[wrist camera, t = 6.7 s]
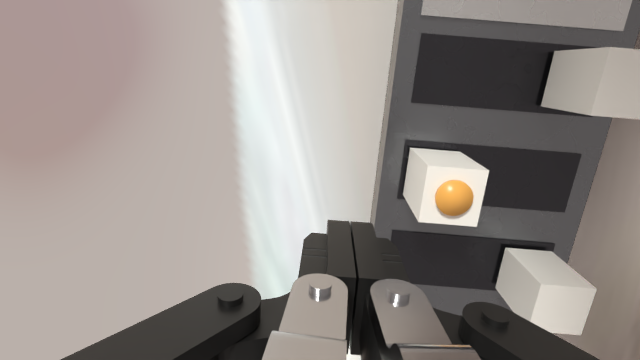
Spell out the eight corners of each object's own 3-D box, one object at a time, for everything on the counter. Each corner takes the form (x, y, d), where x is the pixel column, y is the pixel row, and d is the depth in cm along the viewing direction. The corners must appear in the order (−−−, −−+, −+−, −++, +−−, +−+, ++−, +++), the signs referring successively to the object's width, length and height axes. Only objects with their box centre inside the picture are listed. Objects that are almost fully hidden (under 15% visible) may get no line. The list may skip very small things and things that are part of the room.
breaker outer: (505, 247, 24) (541, 284, 20) (551, 251, 24) (597, 288, 20) (495, 287, 25) (527, 330, 21) (540, 291, 25) (581, 335, 21)
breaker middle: (410, 147, 22) (429, 167, 18) (460, 151, 22) (491, 172, 18) (402, 194, 23) (419, 224, 19) (451, 198, 23) (479, 229, 19)
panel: (403, -42, 21) (411, -54, 19) (629, -24, 21) (662, -34, 19) (358, 311, 28) (360, 331, 26) (527, 325, 28) (543, 346, 26)
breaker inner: (554, 51, 20) (610, 46, 16) (609, 55, 20) (678, 52, 16) (540, 106, 21) (590, 115, 17) (593, 110, 21) (654, 120, 17)
